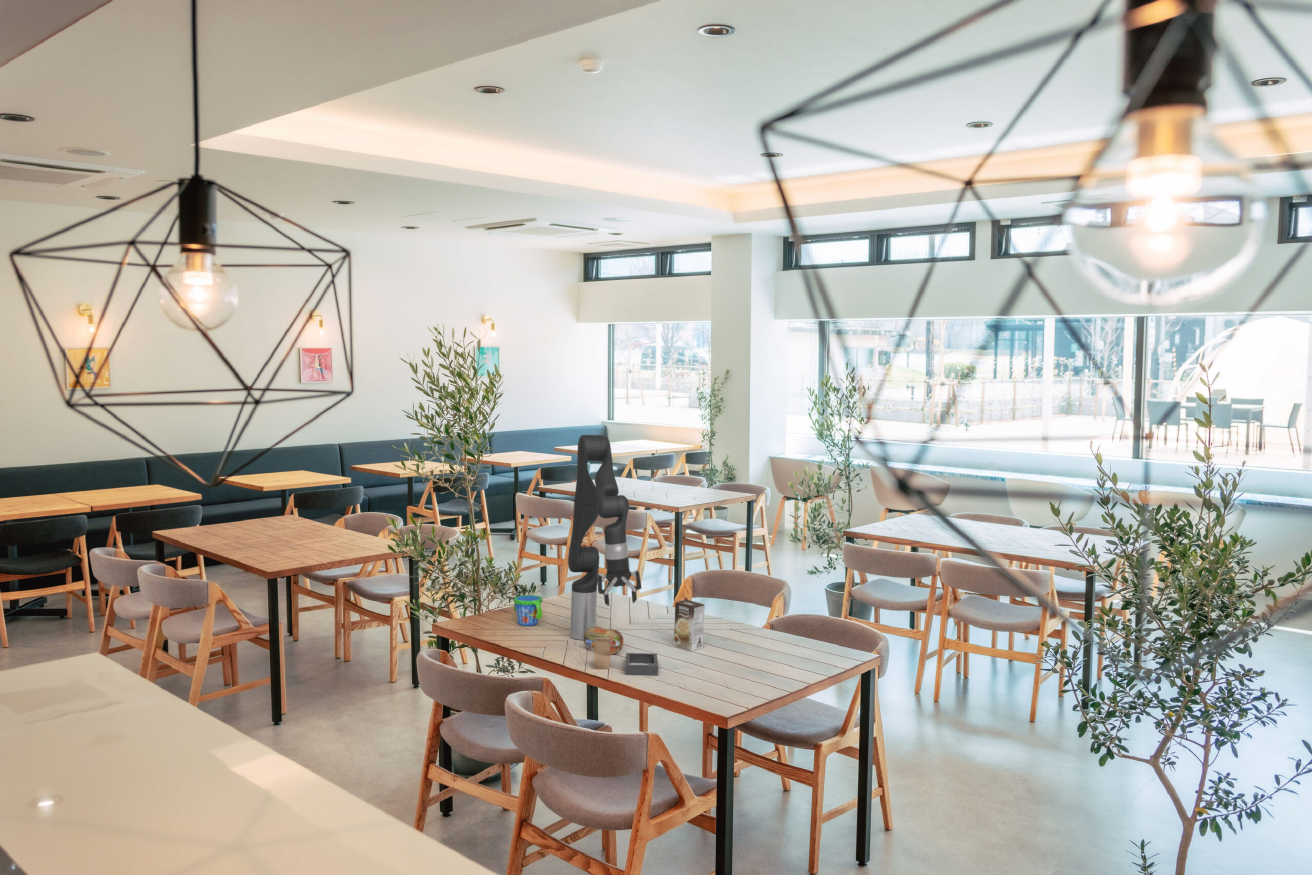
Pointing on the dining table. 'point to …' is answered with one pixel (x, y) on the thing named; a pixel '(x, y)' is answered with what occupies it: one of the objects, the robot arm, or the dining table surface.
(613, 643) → the tin
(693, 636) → the coffee box
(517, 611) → the snack cup
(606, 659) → the block
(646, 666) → the dark grey tray
